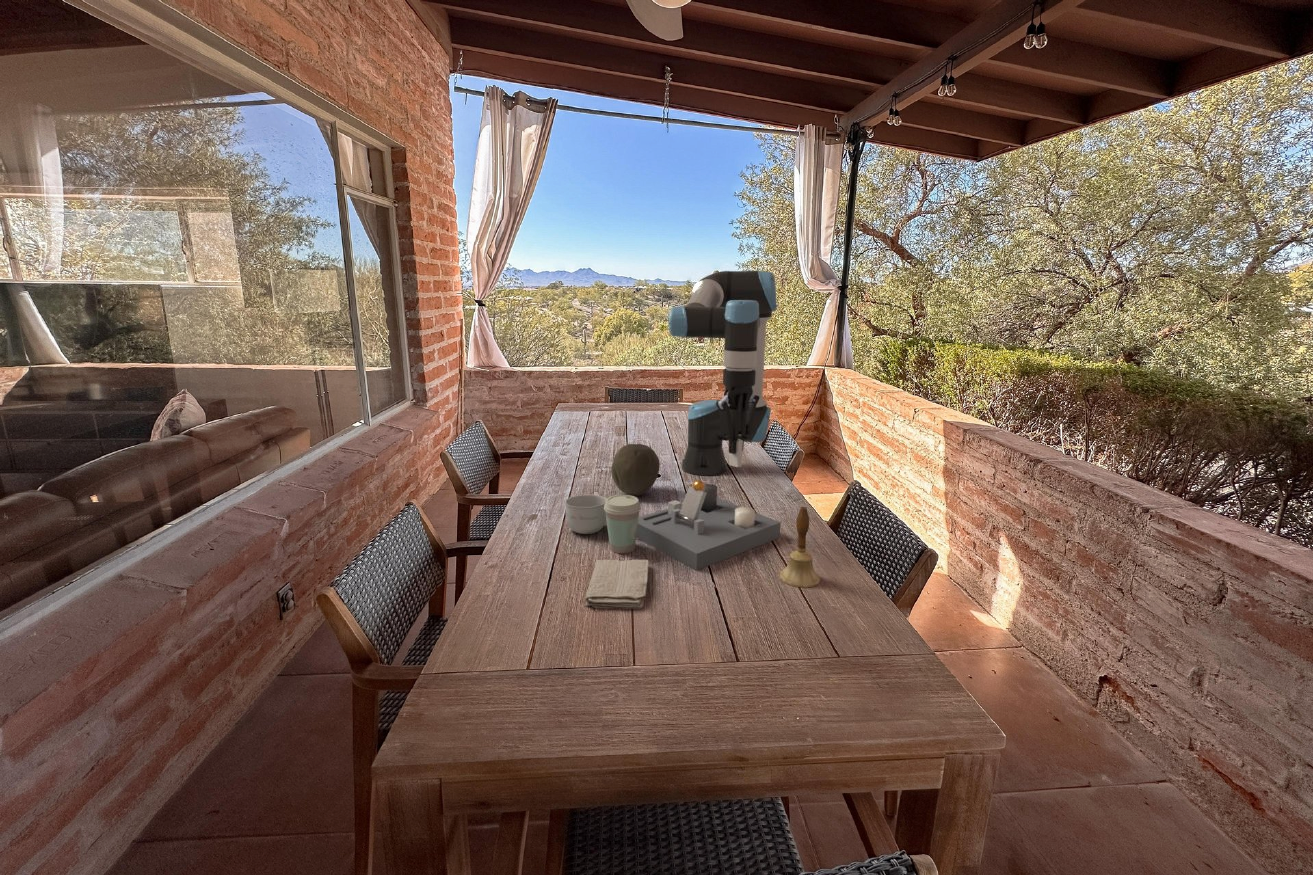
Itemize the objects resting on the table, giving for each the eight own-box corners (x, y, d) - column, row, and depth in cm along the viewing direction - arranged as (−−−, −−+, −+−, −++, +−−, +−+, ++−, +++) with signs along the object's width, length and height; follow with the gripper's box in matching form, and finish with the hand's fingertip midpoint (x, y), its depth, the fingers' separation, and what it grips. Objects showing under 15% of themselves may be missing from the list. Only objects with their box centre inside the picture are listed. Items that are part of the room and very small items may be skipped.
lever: (681, 518, 141) (695, 478, 142) (699, 526, 137) (714, 485, 137) (673, 516, 140) (688, 476, 140) (691, 524, 135) (706, 482, 135)
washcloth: (584, 611, 111) (583, 596, 110) (595, 567, 128) (594, 554, 127) (646, 612, 110) (646, 597, 110) (648, 568, 128) (649, 555, 127)
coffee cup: (636, 557, 131) (636, 508, 128) (599, 554, 133) (599, 505, 130) (644, 542, 140) (644, 495, 137) (610, 538, 141) (609, 492, 138)
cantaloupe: (658, 502, 166) (659, 451, 162) (609, 501, 166) (608, 451, 162) (659, 486, 179) (660, 439, 176) (614, 485, 180) (613, 438, 176)
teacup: (556, 532, 145) (555, 502, 143) (582, 518, 154) (581, 489, 152) (603, 544, 138) (603, 512, 136) (627, 528, 148) (627, 498, 146)
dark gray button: (707, 502, 155) (708, 482, 153) (720, 507, 151) (721, 487, 150) (694, 506, 152) (695, 486, 150) (707, 512, 148) (707, 491, 147)
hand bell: (791, 590, 118) (796, 517, 114) (772, 571, 126) (777, 502, 122) (827, 585, 120) (834, 513, 116) (807, 567, 128) (812, 499, 124)
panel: (711, 509, 161) (712, 485, 159) (779, 537, 143) (781, 510, 141) (630, 534, 144) (630, 508, 142) (696, 570, 126) (697, 540, 124)
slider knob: (675, 511, 148) (675, 500, 147) (681, 514, 146) (681, 502, 146) (668, 513, 147) (668, 502, 146) (674, 516, 145) (674, 505, 144)
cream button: (743, 526, 146) (744, 505, 144) (757, 532, 142) (759, 511, 141) (730, 531, 143) (730, 510, 141) (744, 537, 139) (745, 515, 138)
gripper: (745, 364, 141) (741, 457, 147) (708, 369, 133) (705, 467, 139) (770, 367, 136) (764, 463, 142) (732, 373, 127) (728, 474, 133)
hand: (735, 465), depth 140 cm, fingers closed
